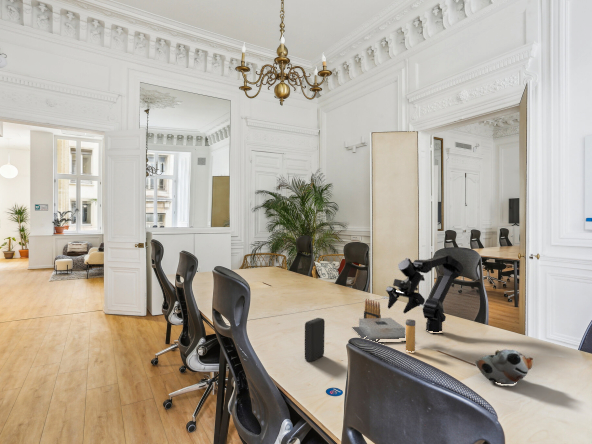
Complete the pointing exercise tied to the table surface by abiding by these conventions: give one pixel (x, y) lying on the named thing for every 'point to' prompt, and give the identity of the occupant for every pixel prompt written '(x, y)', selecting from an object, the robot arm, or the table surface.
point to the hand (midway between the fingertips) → (396, 310)
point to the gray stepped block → (379, 329)
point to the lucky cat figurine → (504, 366)
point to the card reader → (314, 339)
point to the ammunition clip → (372, 309)
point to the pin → (410, 335)
